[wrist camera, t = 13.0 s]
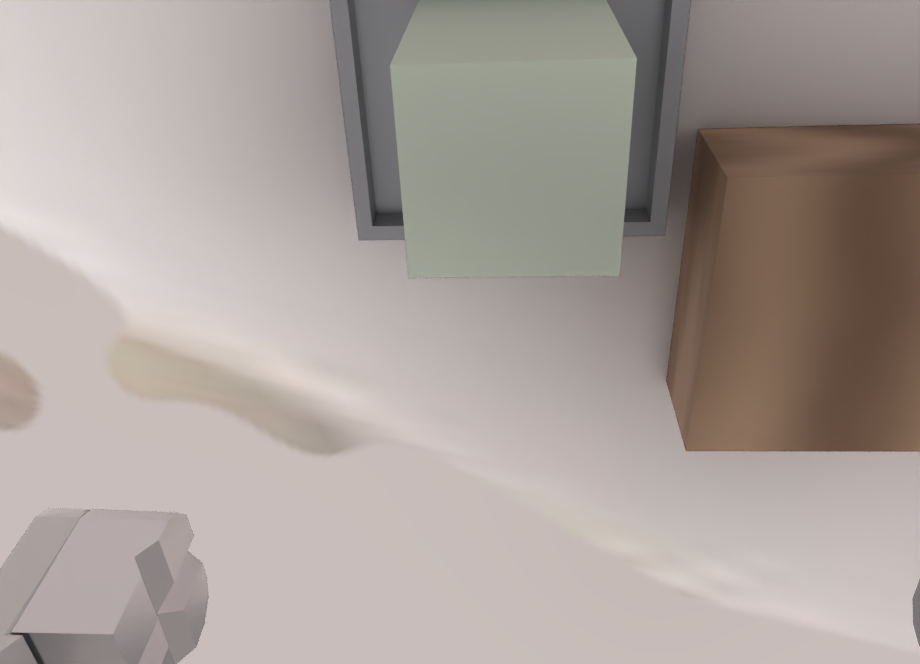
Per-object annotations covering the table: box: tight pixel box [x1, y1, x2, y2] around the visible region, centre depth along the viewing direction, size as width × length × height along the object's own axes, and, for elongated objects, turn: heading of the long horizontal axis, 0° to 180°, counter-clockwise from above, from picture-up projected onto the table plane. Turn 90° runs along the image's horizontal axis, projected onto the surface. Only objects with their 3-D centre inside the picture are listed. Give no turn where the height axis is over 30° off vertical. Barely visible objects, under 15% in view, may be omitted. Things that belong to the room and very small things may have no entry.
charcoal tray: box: [330, 0, 691, 240], centre depth 24 cm, size 10×10×2 cm
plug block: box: [390, 0, 637, 278], centre depth 21 cm, size 5×5×8 cm
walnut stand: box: [666, 124, 920, 451], centre depth 26 cm, size 10×10×4 cm
